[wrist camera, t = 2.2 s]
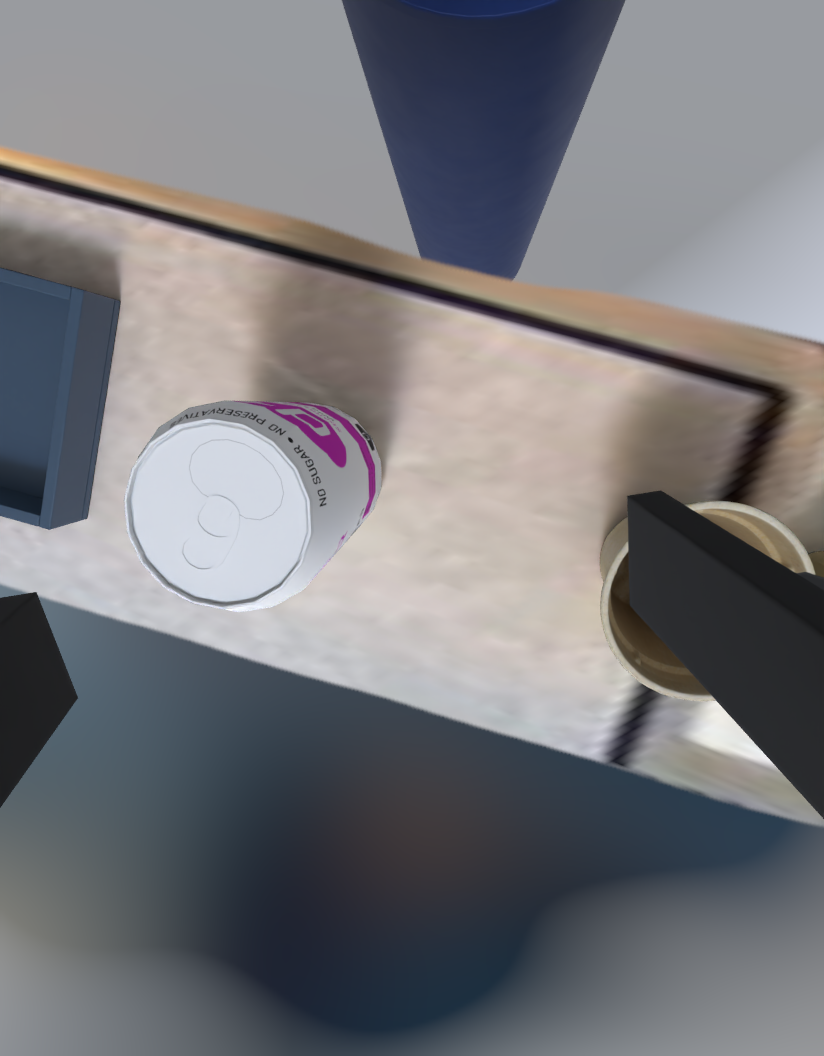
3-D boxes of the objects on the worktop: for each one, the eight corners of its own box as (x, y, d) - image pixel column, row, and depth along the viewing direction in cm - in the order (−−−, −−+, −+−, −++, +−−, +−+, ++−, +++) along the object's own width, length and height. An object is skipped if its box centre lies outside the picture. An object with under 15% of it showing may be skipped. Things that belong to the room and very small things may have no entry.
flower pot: (544, 521, 36) (567, 556, 28) (699, 450, 35) (773, 465, 26) (608, 658, 38) (649, 731, 29) (760, 595, 36) (850, 654, 28)
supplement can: (285, 377, 36) (161, 358, 21) (408, 447, 36) (369, 476, 22) (226, 497, 38) (74, 554, 23) (344, 563, 38) (267, 662, 23)
